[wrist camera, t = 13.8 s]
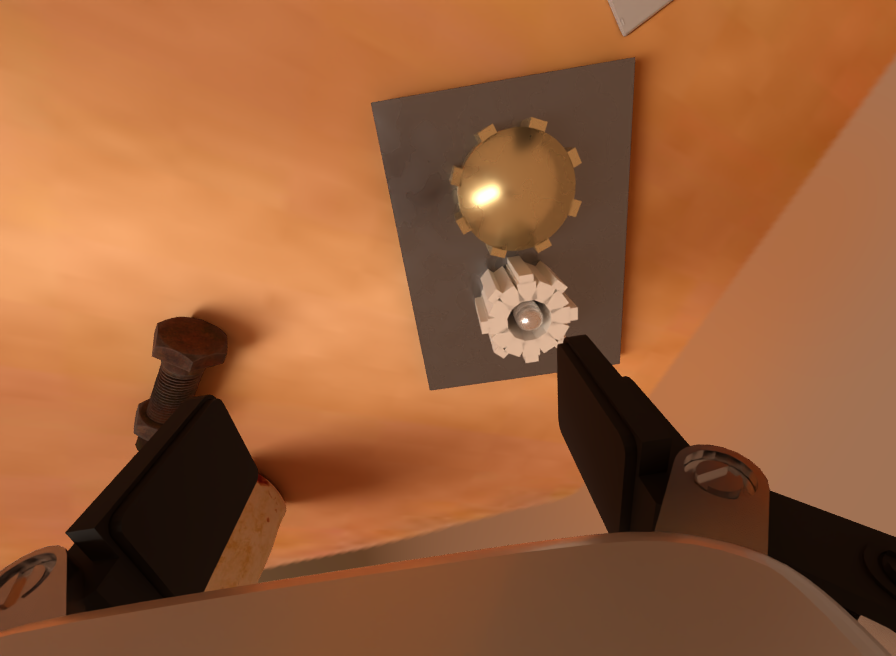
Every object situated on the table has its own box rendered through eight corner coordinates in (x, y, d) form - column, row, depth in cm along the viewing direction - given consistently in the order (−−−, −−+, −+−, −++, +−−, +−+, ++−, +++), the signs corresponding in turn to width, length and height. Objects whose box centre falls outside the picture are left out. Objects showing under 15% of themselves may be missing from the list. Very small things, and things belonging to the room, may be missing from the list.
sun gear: (426, 166, 28) (425, 168, 25) (538, 92, 26) (549, 85, 23) (485, 269, 31) (490, 280, 29) (588, 209, 30) (603, 215, 27)
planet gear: (470, 263, 31) (475, 283, 27) (556, 249, 31) (577, 266, 26) (480, 339, 34) (486, 368, 30) (559, 327, 34) (578, 355, 29)
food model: (305, 489, 44) (213, 732, 25) (271, 518, 45) (162, 764, 27) (230, 443, 40) (63, 682, 22) (196, 476, 42) (17, 722, 24)
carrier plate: (374, 104, 27) (355, 92, 21) (625, 61, 27) (683, 35, 20) (430, 381, 38) (428, 428, 31) (613, 355, 37) (649, 398, 31)
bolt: (170, 420, 41) (209, 312, 36) (198, 453, 40) (243, 346, 34) (105, 444, 36) (138, 322, 30) (135, 482, 35) (175, 362, 29)
